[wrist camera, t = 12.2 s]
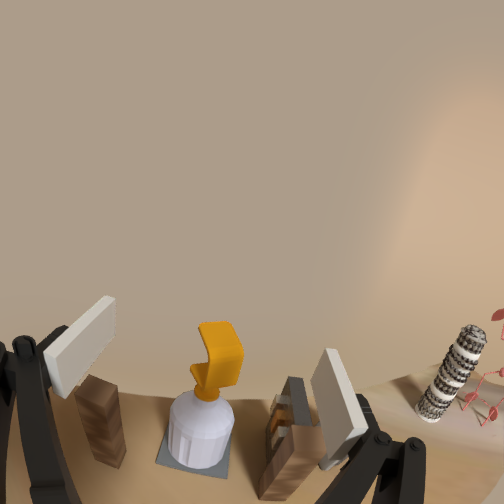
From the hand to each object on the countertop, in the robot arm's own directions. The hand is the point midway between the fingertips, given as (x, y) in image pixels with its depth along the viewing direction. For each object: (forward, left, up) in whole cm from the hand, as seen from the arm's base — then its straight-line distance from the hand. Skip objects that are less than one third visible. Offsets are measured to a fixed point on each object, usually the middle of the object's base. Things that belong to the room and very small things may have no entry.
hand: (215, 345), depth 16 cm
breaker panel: (+13, +15, -31) cm, 37 cm away
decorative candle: (+55, +26, -32) cm, 68 cm away
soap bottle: (0, +13, -31) cm, 34 cm away
